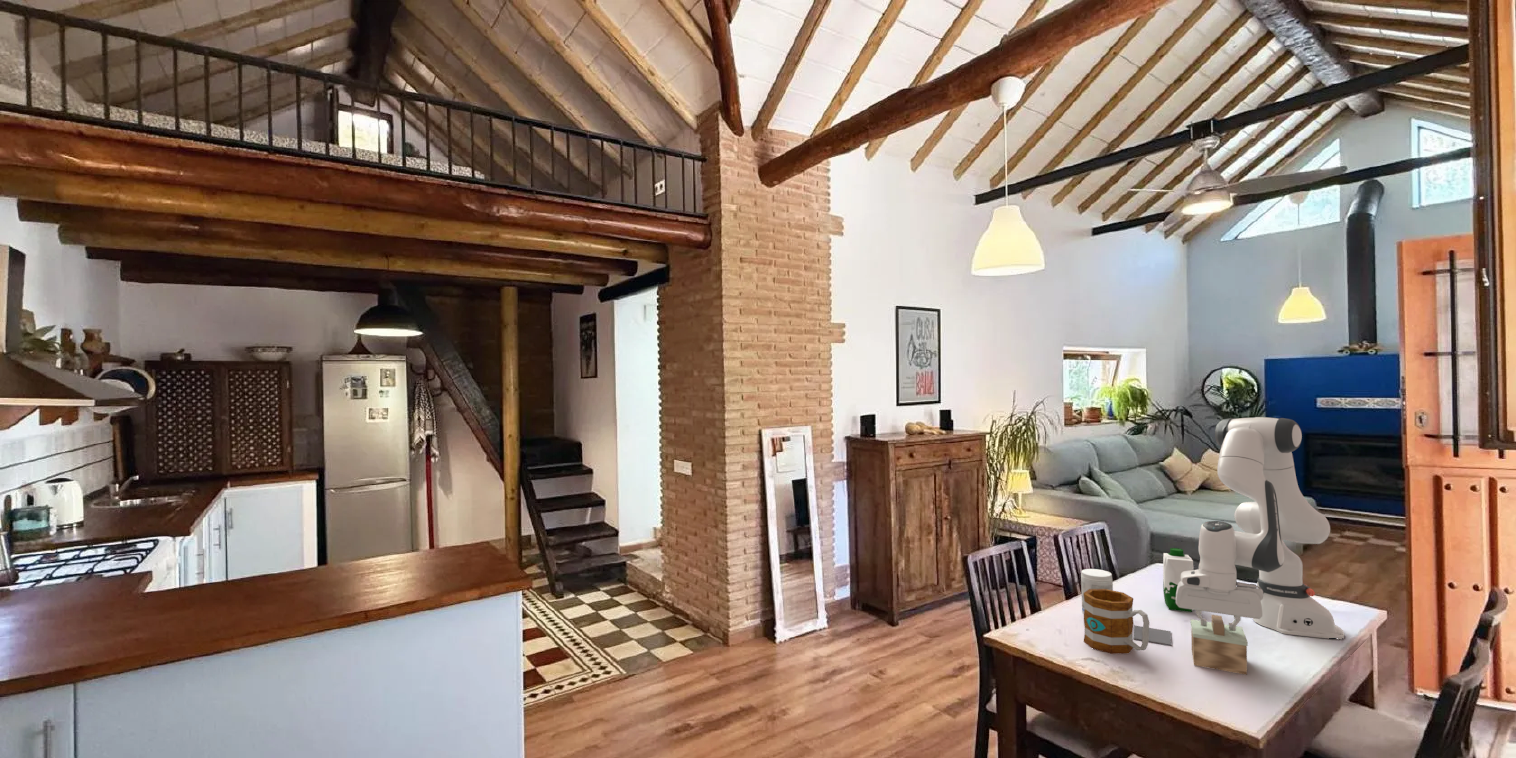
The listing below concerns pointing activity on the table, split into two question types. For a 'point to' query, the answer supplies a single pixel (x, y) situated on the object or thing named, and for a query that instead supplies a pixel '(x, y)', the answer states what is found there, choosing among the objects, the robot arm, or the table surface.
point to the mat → (1154, 635)
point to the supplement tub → (1095, 581)
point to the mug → (1112, 622)
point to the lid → (1218, 631)
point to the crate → (1219, 655)
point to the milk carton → (1174, 575)
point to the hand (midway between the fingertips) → (1217, 627)
